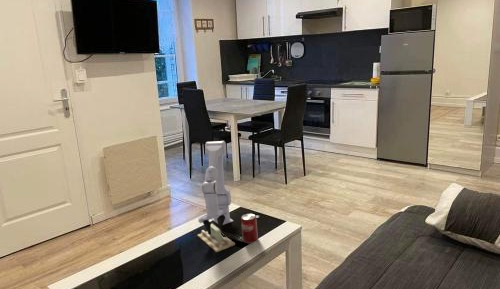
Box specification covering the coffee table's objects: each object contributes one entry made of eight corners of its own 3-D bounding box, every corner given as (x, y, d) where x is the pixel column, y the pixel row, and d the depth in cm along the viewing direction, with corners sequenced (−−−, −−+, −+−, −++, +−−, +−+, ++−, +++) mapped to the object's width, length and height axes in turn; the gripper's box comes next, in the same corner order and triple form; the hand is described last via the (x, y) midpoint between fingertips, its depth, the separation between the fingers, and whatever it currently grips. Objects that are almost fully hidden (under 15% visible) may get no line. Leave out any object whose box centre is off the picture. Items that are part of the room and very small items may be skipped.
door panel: (209, 236, 180) (208, 224, 179) (213, 234, 181) (211, 223, 180) (218, 242, 173) (216, 231, 172) (221, 241, 174) (220, 229, 173)
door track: (197, 236, 183) (197, 231, 182) (215, 229, 188) (214, 225, 188) (216, 252, 166) (215, 247, 166) (235, 244, 172) (234, 240, 171)
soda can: (252, 245, 170) (249, 221, 167) (239, 241, 174) (237, 218, 172) (261, 238, 176) (259, 215, 173) (249, 234, 180) (247, 212, 177)
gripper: (201, 212, 166) (205, 240, 169) (229, 203, 173) (232, 230, 177) (195, 208, 172) (198, 234, 175) (222, 199, 179) (225, 225, 182)
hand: (214, 232), depth 176 cm, fingers open, 5 cm apart
